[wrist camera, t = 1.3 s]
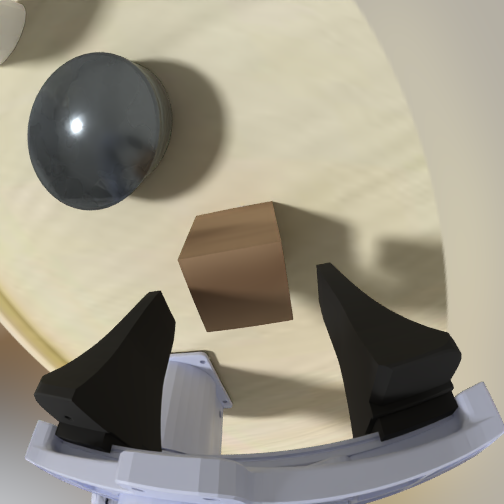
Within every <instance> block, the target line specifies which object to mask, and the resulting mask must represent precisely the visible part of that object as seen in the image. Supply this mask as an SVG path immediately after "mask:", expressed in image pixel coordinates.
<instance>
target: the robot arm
mask: <svg viewBox="0 0 504 504" xmlns="http://www.w3.org/2000/svg"><path fill="white" fill-rule="evenodd" d="M316 267H317V279H318V293H319V303H320V307H321V311H322V315H323V319H324V322H325V325H326V328H327V330H328V333H329V336H330V339H331V341H332V344H333V347H334V350H335V352H336V355H337V358H338V361H339V365H340V369H341V373H342V378H343V382H344V387H345V392H346V397H347V402H348V408H349V414H350V420H351V426H352V434H353V439H349V440H344V441H340V442H335V443H330V444H325V445H320V446H314V447H308V448H302V449H295V450H287V451H278V452H268V453H255V454H234V455H221V444H222V425H223V408H231V407H232V402H231V400H230V398H229V396H228V394H227V392H226V390H225V389H224V387H223V385H222V383H221V381H220V379H219V377H218V375H217V373H216V371H215V369H214V367H213V365H212V363H211V361H210V359H209V357H208V355H207V354H206V353H204V352H191V353H178V354H171V350H172V345H173V341H174V334H175V323H176V322H175V320H174V318H173V316H172V314H171V311H170V309H169V307H168V305H167V303H166V301H165V299H164V297H163V295H162V293H161V291H154V292H149V293H148V294H147V295H146V296H145V297H144V298H142V299H141V301H140V302H139V303H138V304H137V305H136V306H135V307H134V308H133V309H132V310H131V311H130V312H129V313H128V314H127V315H126V316H125V317H124V318H123V319H122V320H121V321H120V322H119V323H118V324H117V325H116V326H115V327H114V328H113V329H112V330H111V331H110V332H109V333H108V334H107V335H106V336H105V337H104V338H103V339H101V340H100V341H99V342H98V343H97V344H95V345H94V346H93V347H92V348H90V349H89V350H87V351H86V352H85V353H83V354H82V355H80V356H79V357H78V358H76V359H74V360H73V361H71V362H70V363H68V364H66V365H64V366H62V367H61V368H59V369H57V370H55V371H52V372H50V373H48V374H46V375H44V376H43V377H42V379H41V381H40V383H39V385H38V387H37V389H36V391H35V393H34V396H35V399H36V401H37V402H38V403H39V405H40V406H41V407H42V408H44V409H45V410H46V411H47V412H48V413H49V414H51V415H52V416H53V417H54V418H55V419H56V420H57V421H59V424H58V427H57V426H55V425H54V424H51V423H48V422H45V421H42V420H38V422H37V424H36V427H35V430H34V432H33V435H32V438H31V441H30V444H29V446H28V449H27V452H26V455H25V459H26V460H27V461H29V462H31V463H32V464H34V465H35V466H37V467H38V468H40V469H42V470H44V471H45V472H47V473H49V474H51V475H52V476H54V477H56V478H58V479H60V480H62V481H64V482H67V483H69V484H72V485H74V486H76V487H79V488H81V489H84V490H86V491H89V492H92V500H91V504H366V503H369V502H373V501H376V500H379V499H382V498H385V497H388V496H391V495H393V494H396V493H399V492H402V491H404V490H407V489H409V488H412V487H414V486H417V485H419V484H421V483H424V482H426V481H428V480H430V479H432V478H435V477H436V476H439V475H441V474H443V473H445V472H447V471H449V470H451V469H453V468H455V467H457V466H458V465H460V464H462V463H464V462H466V461H467V460H469V459H471V458H473V457H474V456H476V455H477V454H479V453H480V452H482V451H483V450H484V449H485V448H487V447H488V446H489V445H490V444H492V443H493V442H494V441H495V440H497V439H498V438H499V437H500V436H501V435H503V434H504V424H503V421H502V419H501V417H500V415H499V412H498V410H497V408H496V406H495V404H494V402H493V400H492V398H491V396H490V393H489V392H488V390H487V388H486V386H485V384H484V382H480V383H478V384H476V385H474V386H472V387H470V388H468V389H466V390H464V391H462V392H460V393H459V394H458V395H457V396H455V397H454V396H453V394H452V390H453V389H454V387H453V384H452V382H451V378H452V376H453V375H454V373H455V371H456V369H457V367H458V366H459V363H460V361H461V352H460V351H459V349H458V347H457V345H456V343H455V342H454V340H453V339H452V337H451V336H450V335H449V333H447V332H444V331H440V330H437V329H433V328H430V327H427V326H424V325H421V324H419V323H416V322H414V321H411V320H409V319H407V318H405V317H403V316H401V315H399V314H397V313H394V312H393V311H391V310H389V309H387V308H386V307H384V306H382V305H381V304H379V303H378V302H376V301H374V300H373V299H372V298H370V297H369V296H368V295H366V294H365V293H364V292H362V291H361V290H360V289H359V288H358V287H356V286H355V285H354V284H353V283H352V282H350V281H349V280H348V279H347V278H346V277H345V276H344V275H343V274H342V273H341V272H340V271H339V270H338V269H337V268H335V267H334V266H333V265H332V264H331V263H325V264H319V265H316ZM203 360H204V361H203Z"/></svg>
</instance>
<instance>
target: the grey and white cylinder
mask: <svg viewBox="0 0 504 504" xmlns="http://www.w3.org/2000/svg"><path fill="white" fill-rule="evenodd" d="M25 16H26V10H25V8H24V6H23V4H20V3H17V2H14V1H12V0H0V65H1V64H2V63H3V62H4V61H5V60H6V59H7V58H8V56H9V55H10V54H11V52H12V51H13V50H14V48H15V46H16V44H17V42H18V40H19V38H20V36H21V34H22V30H23V27H24V24H25Z"/></svg>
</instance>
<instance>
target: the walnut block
mask: <svg viewBox="0 0 504 504" xmlns="http://www.w3.org/2000/svg"><path fill="white" fill-rule="evenodd" d="M178 262H179V265H180V267H181V270H182V272H183V275H184V278H185V280H186V283H187V285H188V288H189V290H190V293H191V295H192V298H193V300H194V303H195V305H196V307H197V310H198V312H199V315H200V317H201V319H202V322H203V324H204V326H205V329H206V331H207V332H213V331H221V330H229V329H236V328H244V327H251V326H258V325H264V324H270V323H277V322H283V321H289V320H293V314H292V307H291V300H290V294H289V287H288V280H287V274H286V268H285V261H284V255H283V249H282V243H281V238H280V234H279V229H278V225H277V220H276V216H275V212H274V207H273V203H272V201H270V202H265V203H259V204H254V205H249V206H243V207H238V208H233V209H228V210H223V211H218V212H213V213H208V214H204V215H199V216H196V218H195V220H194V222H193V225H192V227H191V229H190V232H189V234H188V236H187V239H186V241H185V244H184V246H183V248H182V251H181V253H180V256H179V258H178Z"/></svg>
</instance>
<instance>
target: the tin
mask: <svg viewBox="0 0 504 504" xmlns="http://www.w3.org/2000/svg"><path fill="white" fill-rule="evenodd" d="M171 131H172V110H171V104H170V101H169V98H168V95H167V93H166V90H165V88H164V86H163V85H162V83H161V82H160V81H159V79H158V78H157V77H156V76H155V75H154V74H153V73H152V72H150V71H149V70H148V69H146V68H145V67H143V66H141V65H139V64H136V63H133V62H132V61H130V60H128V59H126V58H124V57H121V56H118V55H115V54H111V53H104V52H95V53H88V54H84V55H81V56H78V57H75V58H73V59H71V60H70V61H68V62H66V63H65V64H63V65H62V66H60V67H59V68H58V69H57V70H56V71H55V72H54V73H53V74H52V75H51V76H50V77H49V78H48V79H47V80H46V82H45V83H44V85H43V86H42V88H41V89H40V91H39V93H38V95H37V97H36V99H35V101H34V104H33V107H32V110H31V113H30V118H29V123H28V149H29V155H30V159H31V162H32V165H33V168H34V170H35V172H36V174H37V177H38V178H39V180H40V181H41V183H42V185H43V186H44V187H45V188H46V189H47V191H48V192H49V193H50V194H51V195H52V196H54V197H55V198H56V199H58V200H59V201H60V202H62V203H64V204H66V205H68V206H70V207H73V208H77V209H81V210H100V209H104V208H108V207H110V206H113V205H115V204H117V203H119V202H120V201H122V200H123V199H125V198H126V197H127V196H129V195H130V194H131V193H132V192H133V191H134V190H135V189H136V188H137V187H138V186H139V185H140V184H141V183H142V181H143V180H144V179H145V178H146V177H147V176H148V175H149V174H150V173H151V172H152V171H153V170H154V169H155V168H156V166H157V165H158V164H159V162H160V161H161V159H162V157H163V155H164V153H165V151H166V149H167V146H168V143H169V140H170V136H171Z"/></svg>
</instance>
